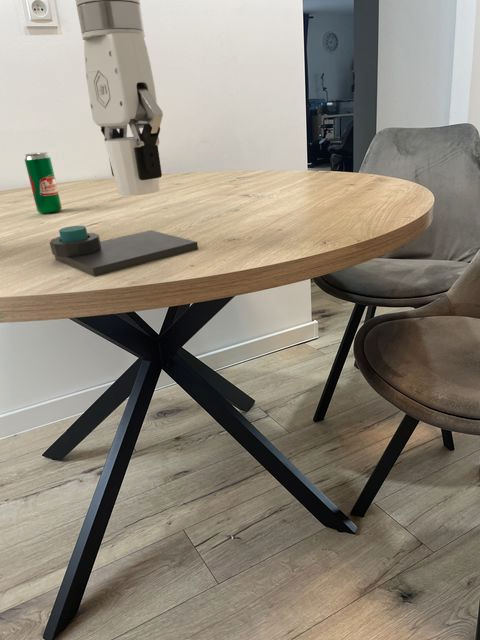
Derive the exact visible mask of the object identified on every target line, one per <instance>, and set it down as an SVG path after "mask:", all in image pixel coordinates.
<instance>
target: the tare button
mask: <svg viewBox="0 0 480 640" xmlns="http://www.w3.org/2000/svg"><path fill="white" fill-rule="evenodd" d="M58 233H59V237H61V241H62V242H74V241H80V240H85V239H88V235H87V233H88V231H87V227H86V226H85V225H72V226H66V227H62V228H59V230H58Z"/></svg>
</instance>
